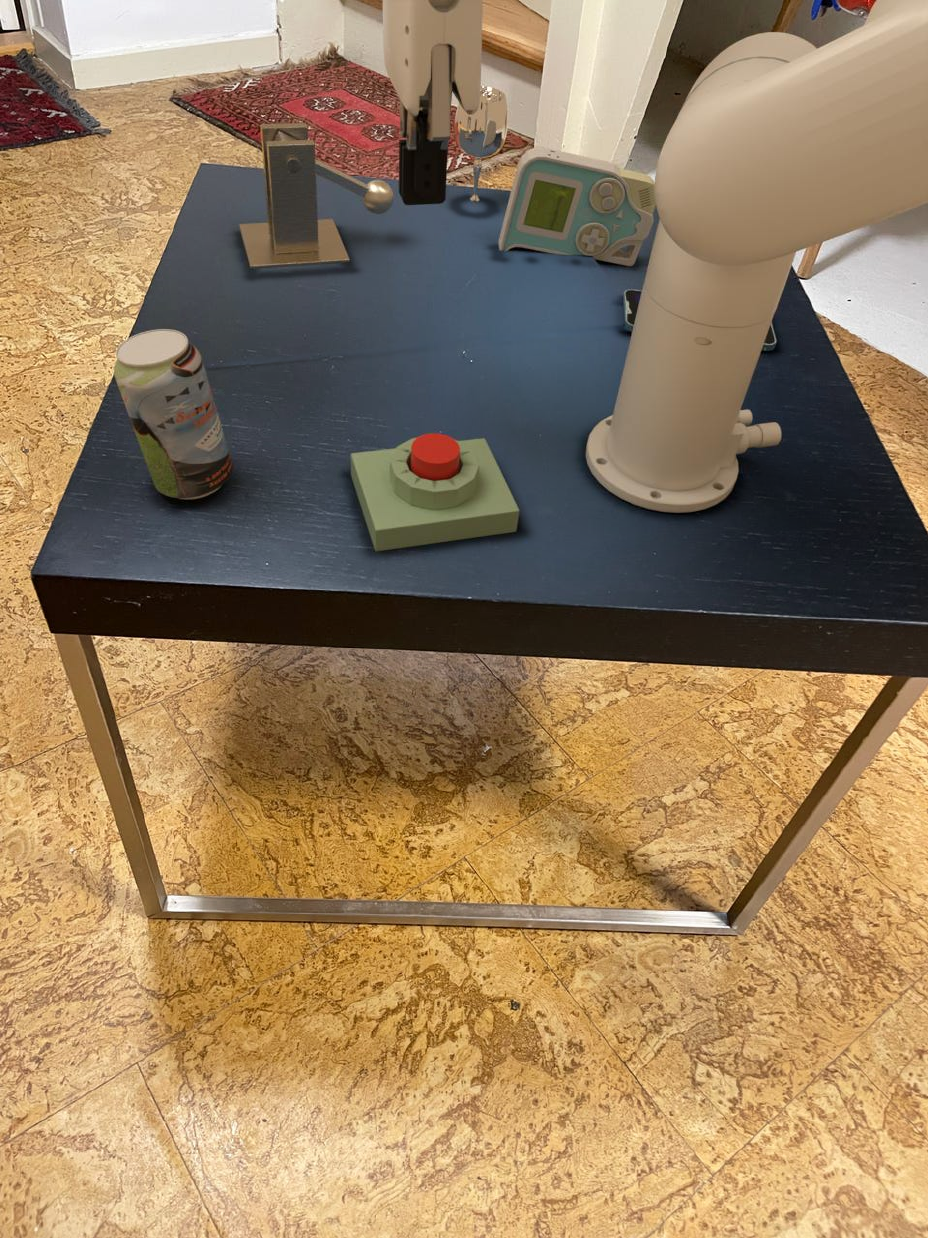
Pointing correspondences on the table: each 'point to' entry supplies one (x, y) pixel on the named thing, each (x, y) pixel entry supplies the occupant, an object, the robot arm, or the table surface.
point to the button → (435, 457)
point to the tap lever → (354, 184)
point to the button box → (432, 498)
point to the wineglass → (482, 129)
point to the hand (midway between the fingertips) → (421, 198)
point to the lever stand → (291, 206)
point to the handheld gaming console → (578, 207)
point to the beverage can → (173, 413)
